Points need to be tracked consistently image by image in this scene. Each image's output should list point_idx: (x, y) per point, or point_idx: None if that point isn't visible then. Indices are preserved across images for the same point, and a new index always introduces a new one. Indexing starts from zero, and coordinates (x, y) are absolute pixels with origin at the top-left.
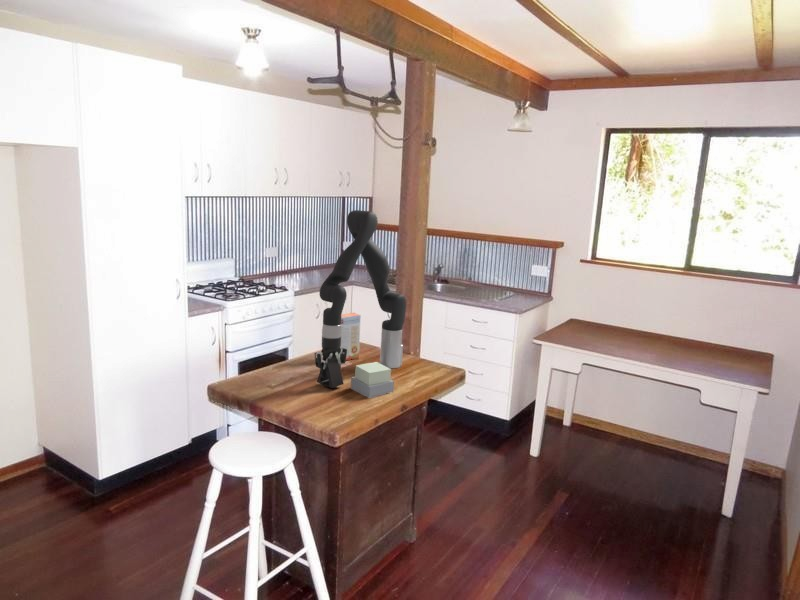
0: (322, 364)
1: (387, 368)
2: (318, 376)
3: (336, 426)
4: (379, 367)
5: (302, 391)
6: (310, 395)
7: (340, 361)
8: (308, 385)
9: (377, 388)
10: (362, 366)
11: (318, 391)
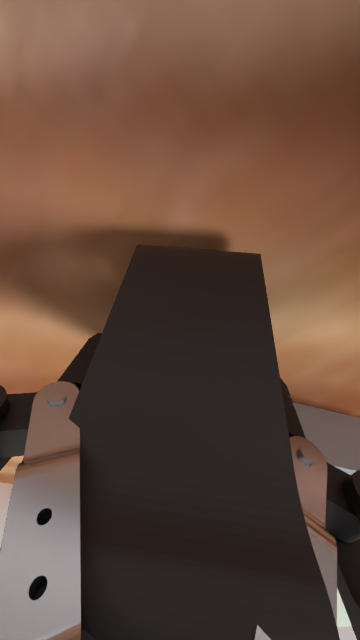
0: (61, 431)
1: (344, 623)
2: (124, 278)
3: (3, 472)
4: (339, 613)
5: (6, 251)
6: (25, 320)
7: None
8: (93, 195)
9: None
10: None
11: (90, 314)
